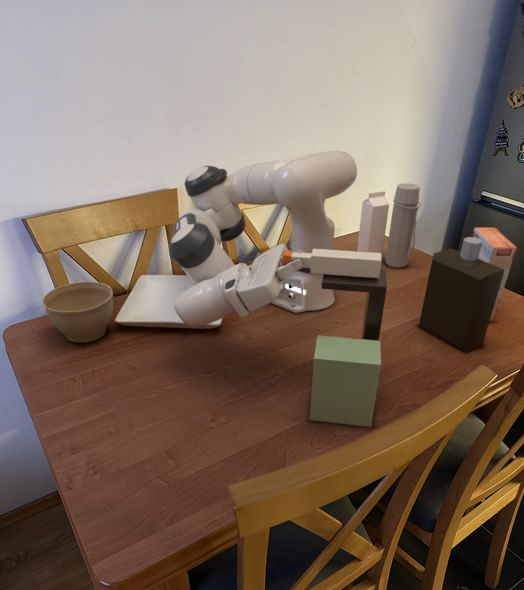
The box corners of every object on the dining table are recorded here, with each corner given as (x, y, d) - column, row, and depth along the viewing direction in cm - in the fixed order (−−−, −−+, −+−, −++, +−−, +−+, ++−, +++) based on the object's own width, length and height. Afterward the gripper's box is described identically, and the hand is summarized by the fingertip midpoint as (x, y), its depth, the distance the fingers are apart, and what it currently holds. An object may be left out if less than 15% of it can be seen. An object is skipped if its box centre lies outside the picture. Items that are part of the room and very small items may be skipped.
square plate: (115, 333, 124) (112, 320, 122) (142, 285, 147) (140, 273, 145) (221, 335, 123) (220, 322, 121) (232, 286, 146) (231, 274, 144)
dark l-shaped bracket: (314, 386, 106) (321, 281, 92) (317, 365, 113) (324, 264, 99) (370, 392, 104) (387, 286, 90) (370, 370, 111) (385, 268, 97)
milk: (381, 261, 161) (391, 194, 149) (365, 264, 159) (374, 196, 147) (370, 254, 166) (379, 188, 153) (355, 257, 164) (363, 190, 151)
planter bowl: (127, 339, 122) (120, 300, 116) (61, 358, 115) (49, 318, 109) (109, 312, 134) (102, 275, 128) (47, 327, 127) (36, 290, 121)
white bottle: (281, 271, 95) (282, 253, 93) (284, 263, 98) (284, 246, 96) (379, 278, 92) (381, 260, 90) (378, 270, 95) (381, 253, 93)
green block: (309, 420, 97) (313, 358, 89) (313, 394, 104) (317, 335, 95) (371, 427, 95) (381, 364, 87) (370, 401, 102) (380, 340, 94)
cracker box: (495, 322, 128) (518, 247, 117) (471, 322, 128) (492, 246, 117) (477, 297, 140) (496, 226, 128) (456, 297, 140) (473, 226, 128)
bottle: (465, 354, 116) (493, 256, 102) (414, 325, 127) (432, 233, 113) (486, 344, 119) (516, 248, 106) (435, 317, 131) (455, 226, 117)
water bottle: (379, 263, 160) (390, 185, 146) (395, 257, 163) (407, 181, 149) (401, 273, 153) (414, 192, 139) (417, 267, 157) (432, 188, 143)
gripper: (259, 276, 110) (314, 251, 104) (240, 322, 93) (304, 295, 88) (245, 252, 107) (301, 225, 102) (223, 295, 91) (288, 265, 85)
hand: (302, 258), depth 95 cm, fingers closed on white bottle, 2 cm apart
